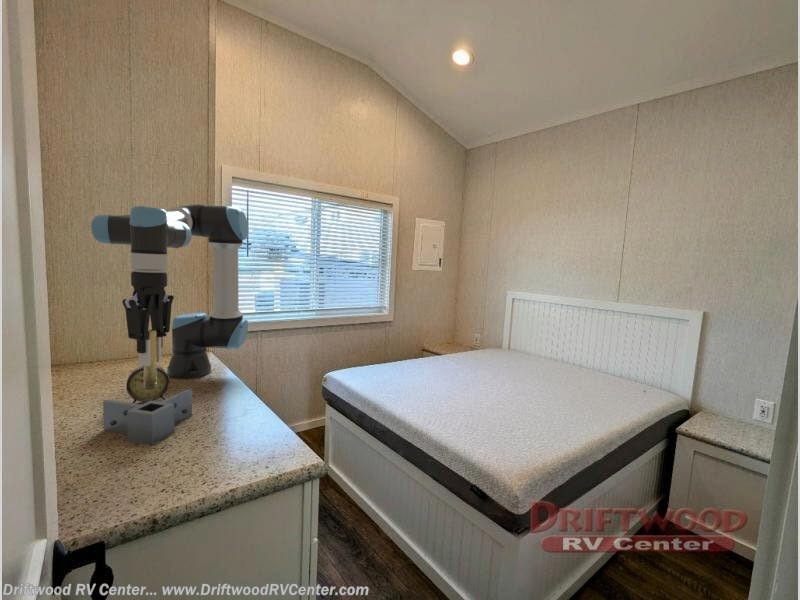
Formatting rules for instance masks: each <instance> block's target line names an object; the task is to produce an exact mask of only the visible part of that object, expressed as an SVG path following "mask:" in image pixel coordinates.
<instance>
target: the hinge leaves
mask: <svg viewBox="0 0 800 600" xmlns="http://www.w3.org/2000/svg"><path fill="white" fill-rule="evenodd" d="M165 399H166V400H163V399H162V401H157V400H153V401H151V400H150V401H148V402H143V403H141V404H140V403H133V402H126V401H119V400H113V399H106V400H103V401H102V406H103V407H102V408H103V409H102V410H103V430H104V431H109V432H114V433H119V434H126V435H127V441H128V442H131V443H136V444H142V445H149V446H154V445H156V444H158V443H159V442H161V441H162V440H164V439H166V438H168V437H169V436H171V435H172V434H174V433H175V426H176V425H178V424H179V423H181V422H183V421H185V420H186V419H188V418H189V417H191V416H193V389H192V388H186V389H185V390H183V391H181V392H178V393H176V394H174V395H172V396H170V397H168V398H165Z"/></svg>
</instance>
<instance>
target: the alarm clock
mask: <svg viewBox="0 0 800 600" xmlns="http://www.w3.org/2000/svg"><path fill="white" fill-rule="evenodd" d="M169 379H170V377H169V376H168V374H167V370H166V369H165V368H163V367H161V366H160V365H157V388H155V389H151V390H145V389H144V365H139V366H138V367H137V368H134V370H133V371H132V372H130V374H129V375H128V377H127V380H126V387H125V388H126V392H127V394H128V395H129V397H131V398H132V399H133V401H132V403H134V404H136V403H137V402H142V403H146V402H148V401H150V400H151V401H157V399H159V398H161V399H162V401H163V400H166V399H167V398H165V397H164V394H165V393H166V392H167V390H168V388H169V384H170V380H169Z"/></svg>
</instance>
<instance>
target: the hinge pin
mask: <svg viewBox="0 0 800 600" xmlns="http://www.w3.org/2000/svg"><path fill="white" fill-rule="evenodd" d="M147 340H150V355H151V365H150V366H144V389H145V390H151V389H155V388H157V366H158V362H157V330H155V329H152V328H151V329H149V328H148V338H147Z"/></svg>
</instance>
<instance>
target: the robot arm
mask: <svg viewBox="0 0 800 600" xmlns="http://www.w3.org/2000/svg"><path fill="white" fill-rule="evenodd" d="M129 213H130V214H122V215H112V214H98V215H96V216H94V217H93V219H92V221H91V225H90V229H91V234H92V236H93V238H94V239H95V240H96V241H97V242H99V243H102V244H110V245H130V268H131V270H133V271H131V272H130V284H131V287H133V292H132V295H131V297H129V298H128V299H127V298H124V299H122V305H123V307H124V309H125V315H126V316H125V318H126V327H127V334H128V335H127V336H128V339H131V340H136V353H137V354H138V366H143V365H144V366H150V365H151V355H150V340H147V338H148V329H149V326H150V325H151V329H155V330H157V363H161V362H163V361H162V348H163V345H164V343H163V342H164V341H163V340H164V339H163V337H165V338H166V337H167V335H168V333H170V329H171V330H172V331H171V340H172V341H171V345H172V346H171V347H172V354H171V358H170V359H169V360H170V361H169V363H168V367H166V368H167V370H166V372H167V374H168V378H172V379H194V378H199V377H204V376H207V375H209V374H210V373H211V372H212V364H211V362H210V358H209V355H208V353H207V352H208V351H207V349H208V348H209V349H211V348H213V349H227V350H230V349H240V348H242V346H243V345H244V343H245V342H246V339H247V336H248V332H249V331H248V330H249V323H248V320H247V319H245V318H244V317H243V316H244V315H243V312H241V310H239V309H240V308H239V248H240V247H241V246H243V241H244V240H246V239H247V238H248V237H249V224H248V219H247V217H246V215H245V212H244V211H243V209H241V208H239V207H235V206H234V207H233V206H230V205H229V206H228V205H227V206H226V205H225V206H224V205H210V204H188V205H181V206H174V207H170V208H169V209H167V210H165V209H163V208H160V207H159V208H158V207H152V206H143V205H141V206H140V205H137V206H136V205H135V206H132V207H131V208H130V212H129ZM192 236H195V237H201V238H203V237H204V238H208V239H207V240H208V244H209V245H210V246H212V252H213V253H212V257H213V260H212V261H213V262H212V263H213V264H212V266H213V311H211V313H210V314H209V317H208V315H207V313H205V312H194V313H186V314H185V313H184V314H181V315H177V316H175V317H174V318H173V319H172V323H171V316H172V304H173V301H174V298H175V297H174V295H172V294H171V295H170V294H167V293H166V290H165V287H167V286H168V273H167V272H166V271H167V270H168V248H171V249H179V248H184V247H186V246H187V245H188V244H190V242H191V240H192ZM150 323H151V324H150ZM171 324H172V325H171Z"/></svg>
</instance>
